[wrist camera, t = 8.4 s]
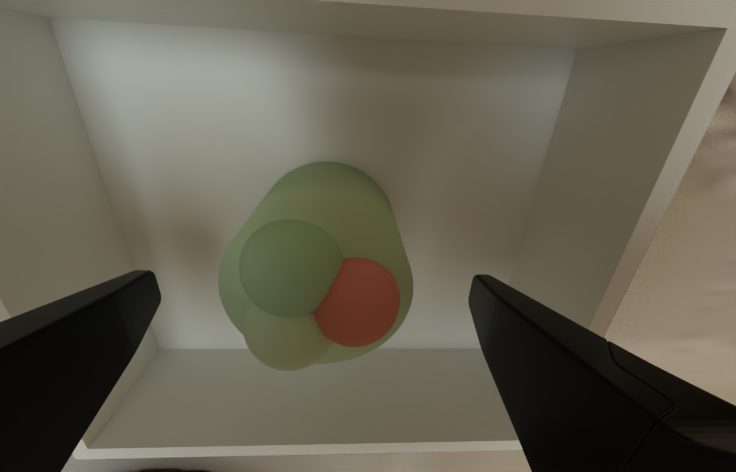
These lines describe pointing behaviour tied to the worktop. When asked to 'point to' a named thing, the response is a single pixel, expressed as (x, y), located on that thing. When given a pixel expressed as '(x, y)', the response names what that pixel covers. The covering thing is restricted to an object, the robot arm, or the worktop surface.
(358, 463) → the worktop surface
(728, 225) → the worktop surface
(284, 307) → the salad portion
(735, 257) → the worktop surface
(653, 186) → the serving bin
